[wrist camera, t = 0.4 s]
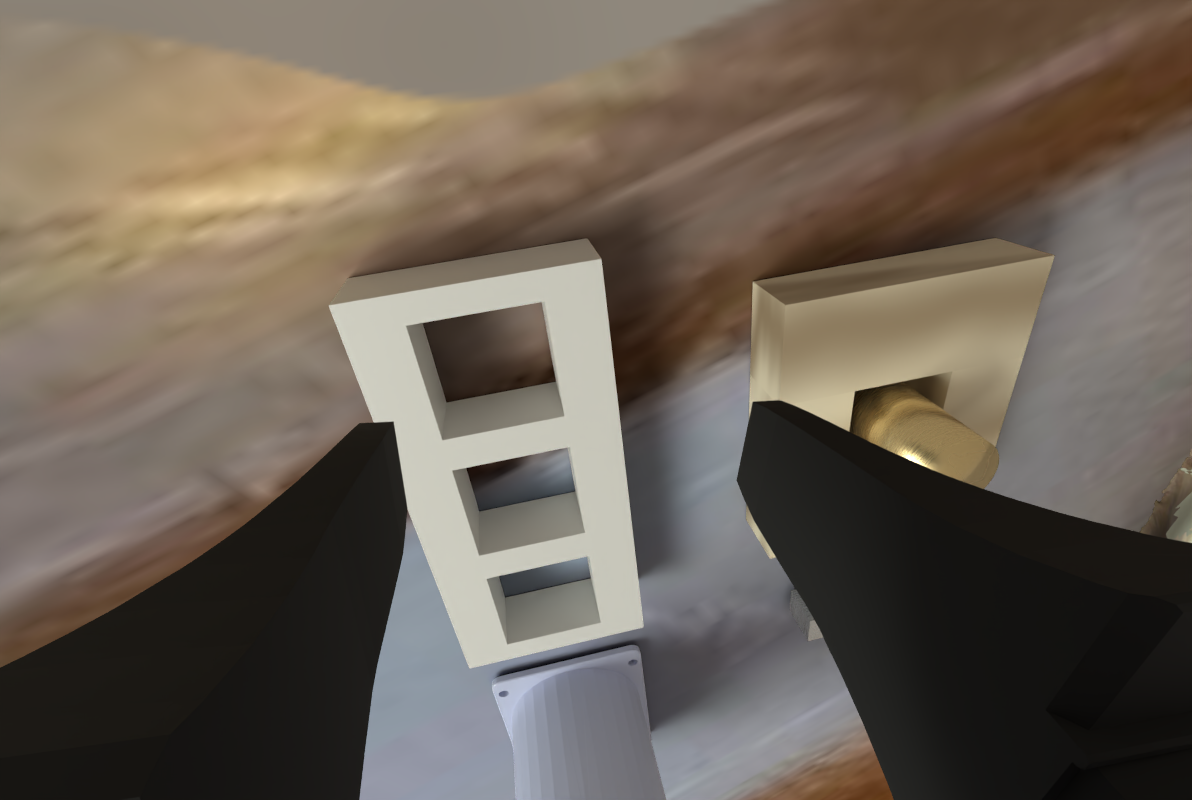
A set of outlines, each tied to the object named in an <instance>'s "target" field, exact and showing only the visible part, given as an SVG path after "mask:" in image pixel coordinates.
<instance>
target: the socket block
mask: <svg viewBox="0 0 1192 800" xmlns="http://www.w3.org/2000/svg"><path fill="white" fill-rule="evenodd" d="M1054 256H1055V255H1052V254H1049V253H1045V252H1042V251H1038V250H1035V249H1032V248H1028V247H1025V246H1022V245H1018V244H1015V243H1011V242H1008V241H1005V240H1001V239H998V238H992V239H987V240H981V241H975V242H970V243H964V244H959V245H953V246H948V247H942V248H937V249H931V250H925V251H920V252H914V253H909V254H903V255H898V256H892V257H887V258H881V259H875V260H870V261H864V262H859V263H853V264H848V265H842V266H837V267H831V268H825V269H820V270H814V271H809V272H803V273H798V274H792V275H787V276H781V277H775V278H770V279H764V280H759V281H753V294H752V330H751V365H750V401H749V418H750V413H751V408H752V403H753V402H755V401H773V400H781V401H784V402H787V403H789V404H792V405H794V406H797V407H799V408H801V409H803V410H806V411H808V412H810V413H812V414H814V415H816V416H818V417H820V418H822V419H824V420H826V421H828V422H831V423H833V424H835V425H837V426H839V427H841V428H843V429H845V430H847V431H849V429H850V422H851V415H852V408H853V401H854V394H855V391H858V390H863V389H868V388H873V387H878V386H883V385H888V384H893V383H898V382H905V383H906V384H907V385H909V386H910V387H912V388H913V389H915V390H916V391H917V392H919V393H920V394H922V395H923V396H924V397H926V398H927V399H929V400H930V401H932V402H933V403H934V404H936V405H937V406H939V407H940V408H942V409H943V410H944V411H946V412H947V413H949V414H950V415H951V416H953V417H954V418H956V419H957V420H959V421H960V422H961V423H963V424H964V425H966V426H967V427H969V428H970V429H971V430H973V431H974V432H976V433H977V434H978V435H980V436H981V437H983V438H984V439H986V440H987V441H988V442H990V443H991V444H993V445H994V446H996V443H997V440H998V437H999V434H1000V430H1001V427H1002V424H1003V421H1004V417H1005V414H1006V411H1007V408H1008V405H1009V401H1010V398H1011V395H1012V392H1013V388H1014V385H1015V382H1016V379H1017V376H1018V372H1019V369H1020V366H1021V363H1022V359H1023V356H1024V353H1025V350H1026V346H1027V343H1028V340H1029V337H1030V334H1031V330H1032V327H1033V324H1034V321H1035V317H1036V314H1037V311H1038V308H1039V305H1040V301H1041V298H1042V295H1043V292H1044V288H1045V285H1046V282H1047V279H1048V276H1049V272H1050V269H1051V266H1052V263H1053V259H1054ZM746 520H747V522H748V523H749V525H750V527H751V528H752V530H753V531H754V533H755V535H756V536H757V538H758V540H759V541H760V543H761V545H762V546H763V548H764V549H765V551H766V553H767V554H768V556H769V558H770V559H771V558H775V557H776V556H775V555H774V553H773V552H772V550H771V548H770V547H769V545H768V543H767V542H766V540H765V538H764V537H763V535H762V533H761V532H760V530H759V528H758V527H757V525H756V523H755V522H754V520H753V518H752V515H751V513H750V511H749V509H748V506H747V508H746Z"/></svg>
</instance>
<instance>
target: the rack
mask: <svg viewBox="0 0 1192 800" xmlns="http://www.w3.org/2000/svg"><path fill="white" fill-rule="evenodd" d="M538 302H542V306H543V312H544V318H545V323H546V329H547V334H548V340H549V346H550V351H551V357H552V362H553V368H554V374H555V379H556V382H551V383H546V384H541V385H536V386H531V387H525V388H520V389H515V390H510V391H504V392H499V393H494V394H489V395H483V396H478V397H473V398H468V399H463V400H457V401H452V402H446V399H445V396H444V393H443V389H442V386H441V383H440V379H439V376H438V373H437V369H436V366H435V363H434V359H433V356H432V353H431V349H430V346H429V343H428V339H427V336H426V333H425V329H424V326H423V323H425V322H430V321H436V320H442V319H447V318H453V317H459V316H464V315H470V314H476V313H481V312H487V311H493V310H498V309H504V308H509V307H515V306H521V305H526V304H532V303H538ZM329 308H330V310H331V313H332V316H333V318H334V321H335V323H336V326H337V328H338V331H339V334H340V336H341V339H342V341H343V344H344V346H345V349H346V352H347V354H348V357H349V359H350V362H351V364H352V367H353V370H354V372H355V375H356V377H357V380H358V383H359V385H360V388H361V390H362V393H363V395H364V398H365V401H366V403H367V406H368V408H369V411H370V413H371V416H372V419H373V421H374V423H375V422H393V421H394V427H395V433H396V439H397V446H398V452H399V458H400V464H401V471H402V477H403V483H404V489H405V496H406V502H407V509H408V511H409V514H410V516H411V519H412V522H413V524H414V527H415V529H416V532H417V534H418V537H419V540H420V542H421V545H422V547H423V550H424V553H425V555H426V558H427V560H428V563H429V565H430V568H431V571H432V573H433V576H434V578H435V581H436V583H437V586H438V589H439V591H440V594H441V596H442V599H443V601H444V604H445V607H446V609H447V612H448V614H449V617H450V619H451V622H452V625H453V627H454V630H455V632H456V635H457V638H458V640H459V643H460V645H461V648H462V650H463V653H464V656H465V658H466V661H467V663H468V666H469V668H474V667H478V666H482V665H487V664H491V663H495V662H499V661H504V660H508V659H512V658H516V657H520V656H525V655H529V654H533V653H537V652H542V651H546V650H550V649H554V648H558V647H563V646H567V645H571V644H575V643H579V642H584V641H588V640H592V639H596V638H601V637H605V636H609V635H613V634H617V633H622V632H626V631H630V630H634V629H639V628H643V627H644V625H643V617H642V608H641V599H640V590H639V582H638V573H637V564H636V556H635V547H634V538H633V529H632V521H631V512H630V503H629V495H628V486H627V477H626V468H625V460H624V451H623V442H622V434H621V425H620V416H619V407H618V399H617V390H616V381H615V373H614V364H613V355H612V346H611V338H610V329H609V320H608V312H607V303H606V294H605V286H604V277H603V268H602V259H601V257H600V256H599V255H598V253H597V252H596V250H595V249H594V247H593V246H592V244H591V243H590V242H589V240H588V239H587V238H586V239H580V240H574V241H568V242H562V243H556V244H550V245H544V246H538V247H532V248H526V249H520V250H514V251H508V252H502V253H496V254H490V255H484V256H478V257H472V258H466V259H460V260H454V261H448V262H442V263H436V264H430V265H424V266H418V267H412V268H406V269H401V270H395V271H389V272H383V273H377V274H371V275H365V276H359V277H353V278H347V280H346V281H345V283H344V284H343V286H342V287H341V288H340V290H339V291H338V293H337V294H336V296H335V297H334V298H333V300H332V301H331V303H330V304H329ZM566 447H568V452H569V458H570V463H571V469H572V475H573V480H574V486H575V492H570V493H565V494H561V495H556V496H551V497H546V498H542V499H537V500H532V501H527V502H523V503H518V504H513V505H508V506H504V507H499V508H494V509H489V510H485V511H480V512H479V509H478V505H477V502H476V499H475V495H474V492H473V489H472V486H471V482H470V479H469V476H468V472H467V469H466V468H468V467H473V466H478V465H483V464H488V463H493V462H497V461H502V460H507V459H512V458H517V457H522V456H527V455H532V454H537V453H542V452H547V451H552V450H557V449H562V448H566ZM582 557H587V559H588V565H589V570H590V576H591V578H590V579H585V580H581V581H576V582H572V583H567V584H563V585H559V586H554V587H550V588H545V589H541V590H537V591H532V592H528V593H523V594H519V595H514V596H510V597H506V598H505V595H504V592H503V588H502V585H501V582H500V579H499V576H501V575H506V574H510V573H515V572H519V571H524V570H528V569H533V568H537V567H542V566H546V565H551V564H555V563H560V562H564V561H569V560H573V559H578V558H582Z"/></svg>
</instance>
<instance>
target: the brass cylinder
mask: <svg viewBox="0 0 1192 800" xmlns="http://www.w3.org/2000/svg"><path fill="white" fill-rule="evenodd" d="M849 432H851V433H853V434H855V435H857V436H859V437H861V438H863V439H865V440H867V441H869V442H871V443H873V444H876V445H878V446H880V447H882V448H884V449H886V450H888V451H891V452H893V453H895V454H897V455H899V456H902V457H904V458H906V459H909V460H911V461H913V462H915V463H918V464H920V465H922V466H925V467H927V468H929V469H932V470H934V471H937V472H939V473H942V474H944V475H947V476H949V477H952V478H955V479H957V480H960V481H963V482H966V483H968V484H971V485H974V486H976V487H979V488H982V489H984V488H985V487H986V486H987V485H988V484H989V482H990V481H991V479H992V478H993V476H994V474H995V473H996V470H997V468H998V464H999V454H998V451H997V449H996V447H995V446H994V445H993V444H991V443H990V442H988V441H987V440H986V439H984V438H983V437H981V436H980V435H978V434H977V433H976V432H974V431H973V430H971V429H970V428H969V427H967V426H966V425H964V424H963V423H961V422H960V421H959V420H957V419H956V418H954V417H953V416H951V415H950V414H949V413H947V412H946V411H944V410H943V409H942V408H940V407H939V406H937V405H936V404H934V403H933V402H932V401H930V400H929V399H927V398H926V397H924V396H923V395H922V394H920V393H919V392H917V391H916V390H915V389H913V388H912V387H910V386H909V385H907V384H906V383H905V382H898V383H893V384H888V385H883V386H878V387H873V388H868V389H863V390H858V391H855V394H854V401H853V408H852V415H851V422H850V429H849Z"/></svg>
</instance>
